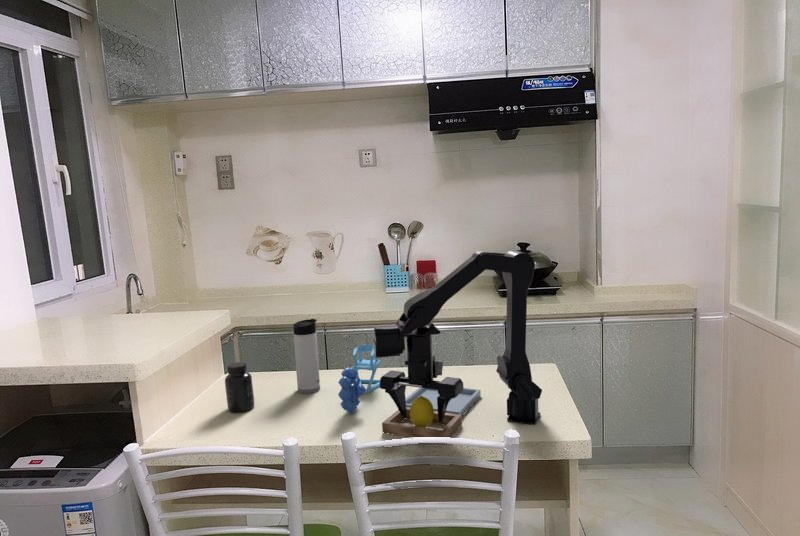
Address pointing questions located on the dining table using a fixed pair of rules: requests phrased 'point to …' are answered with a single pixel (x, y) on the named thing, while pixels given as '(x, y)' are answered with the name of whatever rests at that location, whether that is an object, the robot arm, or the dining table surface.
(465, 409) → the tray
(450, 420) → the holder
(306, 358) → the travel mug
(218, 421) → the dining table surface
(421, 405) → the lemon
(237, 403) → the supplement bottle
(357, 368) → the chair
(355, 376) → the grapes
